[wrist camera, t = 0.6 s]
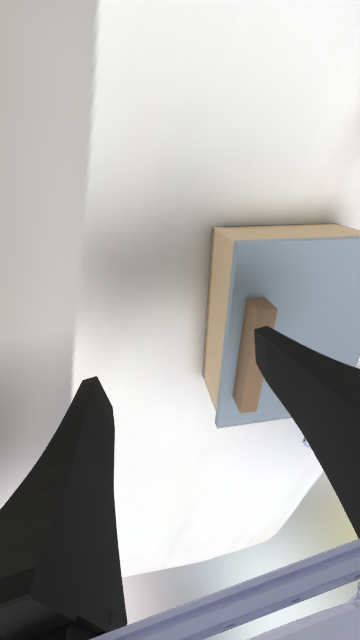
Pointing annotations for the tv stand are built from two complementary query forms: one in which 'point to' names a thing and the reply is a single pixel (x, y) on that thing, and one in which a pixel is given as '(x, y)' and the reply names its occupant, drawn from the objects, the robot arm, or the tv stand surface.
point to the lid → (286, 314)
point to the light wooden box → (221, 282)
